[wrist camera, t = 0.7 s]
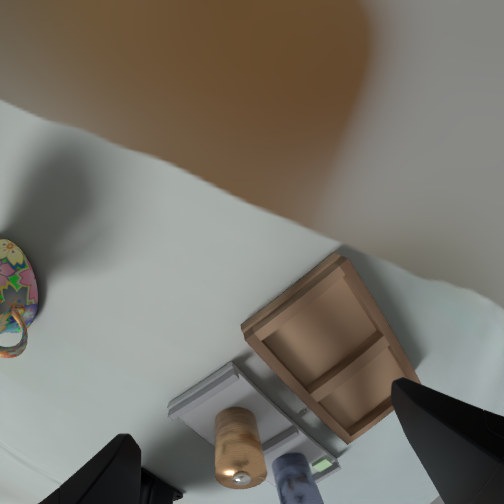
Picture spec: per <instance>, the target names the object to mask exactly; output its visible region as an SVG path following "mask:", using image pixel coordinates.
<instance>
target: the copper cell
mask: <svg viewBox="0 0 504 504" xmlns="http://www.w3.org/2000/svg"><path fill="white" fill-rule="evenodd" d="M215 477H216V480H217V481H218V482H219V483H220V484H221V485H223V486H225V487H228V488H232V489H247V488H252V487H255V486H257V485H259V484H261V483H262V482H263V481H264V480H265V479H266V477H267V469H266V464H265V459H264V455H263V450H262V445H261V440H260V435H259V431H258V426H257V421H256V417H255V415H254V414H253V413H252V412H251V411H250V410H248V409H246V408H243V407H229V408H226V409H224V410H222V411H220V412H219V413H218V414H217V415H216V417H215Z"/></svg>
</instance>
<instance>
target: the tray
mask: <svg viewBox="0 0 504 504" xmlns="http://www.w3.org/2000/svg"><path fill="white" fill-rule="evenodd" d="M241 330H242V332H243V334H244V338H245V341H246V342H247V343H248V344H249V345H250V346H251V347H252V348H253V350H254V351H255V352H256V353H257V354H258V355H259V356H260V357H261V358H262V359H263V360H264V362H265V363H266V364H267V365H268V366H269V367H270V368H271V369H272V370H273V371H274V372H275V373H276V374H277V375H278V376H279V377H280V379H281V380H282V381H283V382H284V383H285V384H286V385H287V386H288V387H289V388H290V389H291V390H292V391H293V392H294V393H295V394H296V395H297V396H298V397H299V398H300V399H301V400H302V401H303V402H304V403H305V404H306V405H307V406H308V407H309V408H310V409H311V410H312V411H313V412H314V413H315V414H316V415H317V416H318V417H319V418H320V419H321V420H322V421H323V422H324V423H325V424H326V425H327V426H328V427H329V428H330V429H331V430H332V431H333V432H334V433H335V434H336V435H338V436H339V437H340V438H341V439H342V440H343V441H344V442H345V443H346V444H347V445H348V444H349V443H351V442H352V441H354V440H355V439H356V438H358V437H359V436H361V435H362V434H364V433H365V432H366V431H368V430H369V429H370V428H372V427H373V426H374V425H376V424H377V423H378V422H380V421H381V420H382V419H383V418H385V417H386V416H387V415H388V414H390V413H391V412H392V411H393V410H394V408H393V405H392V403H391V385H392V382H393V381H394V380H396V379H398V378H401V377H405V378H408V379H410V380H412V381H414V382H417V383H419V384H421V382H420V380H419V378H418V376H417V375H416V373H415V371H414V369H413V367H412V365H411V363H410V361H409V360H408V358H407V356H406V354H405V352H404V350H403V349H402V347H401V345H400V343H399V342H398V340H397V338H396V336H395V334H394V333H393V331H392V329H391V328H390V326H389V324H388V322H387V321H386V319H385V317H384V316H383V314H382V312H381V311H380V309H379V307H378V306H377V304H376V302H375V301H374V299H373V297H372V296H371V294H370V292H369V291H368V289H367V288H366V286H365V284H364V283H363V281H362V280H361V278H360V277H359V275H358V273H357V272H356V270H355V269H354V267H353V266H352V264H351V263H350V261H349V259H347V258H345V257H342V256H341V255H340V254H338V253H335V252H333V253H332V254H331V255H330V256H328V257H327V258H326V259H325V260H323V261H322V262H321V263H320V264H319V265H317V266H316V267H315V268H314V269H312V270H311V271H310V272H309V273H307V274H306V275H305V276H304V277H302V278H301V279H300V280H299V281H297V282H296V283H295V284H294V285H292V286H291V287H290V288H289V289H287V290H286V291H285V292H283V293H282V294H281V295H280V296H278V297H277V298H276V299H274V300H273V301H272V302H271V303H269V304H268V305H267V306H265V307H264V308H263V309H261V310H260V311H259V312H258V313H256V314H255V315H254V316H252V317H251V318H250V319H248V320H247V321H246V322H244V323H243V324H242V325H241ZM421 385H422V384H421Z"/></svg>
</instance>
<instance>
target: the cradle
mask: <svg viewBox="0 0 504 504" xmlns="http://www.w3.org/2000/svg"><path fill="white" fill-rule="evenodd" d="M229 407H243V408H246V409H248V410H250V411H251V412H252V413H253V414H254V415H255V417H256V421H257V426H258V431H259V435H260V440H261V445H262V450H263V455H264V459H265V464H266V469H267V477H266V479H265V481H267V482H269V483H270V484H272V485H274V486H275V487H276V483H275V479H274V475H273V471H272V463H273V461H274V460H275V459H276V458H278V457H279V456H281V455H284V454H287V453H301V454H303V455H305V456H306V458H307V461H308V464H309V466H310V469H311V472H312V474H313V477H314V479H315V482H316V483H318V482H320V481H321V480H323V479H325V478H327V477H328V476H330V475H332V474H333V473H335V472H337V471H338V470H340V469H341V467H340V465H339V462H338V460H337V458H335V457H334V456H333V455H332V454H330V453H329V452H328V451H327V450H326V449H324V448H323V447H322V446H321V445H320V444H319V443H317V442H316V441H315V440H314V439H313V438H312V437H310V436H309V435H308V434H307V433H306V432H305V431H304V430H302V429H301V428H300V427H299V426H298V425H297V424H296V423H295V422H293V421H292V420H291V419H290V418H289V417H288V416H287V415H286V414H285V413H284V412H283V411H281V410H280V409H279V408H278V407H277V406H276V405H275V404H274V403H273V402H272V401H271V400H270V399H269V398H268V397H267V396H266V395H265V394H264V393H263V392H262V391H261V390H259V389H258V388H257V387H256V386H255V385H254V384H253V383H252V382H251V381H250V380H249V379H248V378H247V377H246V376H245V375H244V374H243V373H242V372H241V371H240V370H239V369H238V367H237V366H236V365H235V364H234V363H233V362H232V361H231V362H230V363H228V364H227V365H225V366H224V367H222V368H221V369H220V370H218V371H217V372H215V373H214V374H212V375H211V376H209V377H208V378H206V379H205V380H203V381H202V382H200V383H199V384H197V385H196V386H194V387H193V388H191V389H190V390H188V391H187V392H185V393H183V394H182V395H180V396H179V397H177V398H176V399H174V400H172V401H171V402H169V404H168V409H169V413H168V417H169V418H170V419H171V420H172V421H173V420H175V419H177V418H180V419H181V420H182V421H183V422H184V423H186V424H187V425H188V426H189V427H190V428H192V429H193V430H194V431H195V432H197V433H198V434H199V435H200V436H202V437H203V438H204V439H206V440H207V441H208V442H210V443H211V444H212V445H214V446H215V417H216V415H217V414H218V413H219V412H220V411H222V410H224V409H226V408H229Z"/></svg>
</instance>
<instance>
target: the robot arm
mask: <svg viewBox="0 0 504 504" xmlns="http://www.w3.org/2000/svg"><path fill="white" fill-rule="evenodd" d="M391 403H392V405H393V408H394V410H395V412H396V414H397V417H398V419H399V421H400V424H401V426H402V428H403V431H404V433H405V435H406V437H407V439H408V441H409V443H410V444H411V446H412V448H413V449H414V451H415V453H416V454H417V456H418V458H419V459H420V461H421V463H422V465H423V466H424V468H425V470H426V472H427V473H428V475H429V477H430V478H431V480H432V482H433V484H434V485H435V487H436V489H437V491H438V493H439V494H440V496H441V498H442V500H443V501H444V503H445V504H504V417H503V416H500V415H497V414H494V413H492V412H489V411H486V410H484V411H483V409H481V408H478V407H476V406H473V405H470V404H468V403H465V402H463V401H460V400H458V399H455V398H453V397H450V396H448V395H445V394H443V393H441V392H438V391H436V390H433V389H431V388H429V387H426V386H424V385H421V384H419V383H417V382H414V381H412V380H410V379H408V378H405V377H401V378H398V379H396V380H394V381H393V382H392V385H391ZM181 498H183V494H182V493H181V492H179V491H177V490H176V489H174V488H172V487H171V486H169V485H168V484H166V483H165V482H163V481H161V480H160V479H158V478H157V477H155V476H154V475H152V474H151V473H149V472H148V471H147V470H145V469H143V468H141V450H140V447H139V446H138V444H137V443H136V442H135V440H134V439H133V437H132V436H131V435H130V434H118V435H117V436H116V437H114V438H113V439H112V440H111V441H110V442H109V443H108V444H107V445H106V446H105V447H104V448H103V449H101V450H100V451H99V452H98V453H97V454H96V455H95V456H94V457H93V458H92V459H90V460H89V461H88V462H87V463H86V464H85V465H84V466H83V467H81V468H80V469H79V470H78V471H77V472H76V473H75V474H74V475H72V476H71V477H70V478H69V479H68V480H67V481H66V482H64V483H63V484H62V485H61V486H60V487H59V488H57V489H56V490H55V491H54V492H53V493H52V494H50V495H49V496H48V497H47V498H45V499H44V500H43V501H41V502H40V503H38V504H173V501H175V500H178V499H181Z"/></svg>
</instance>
